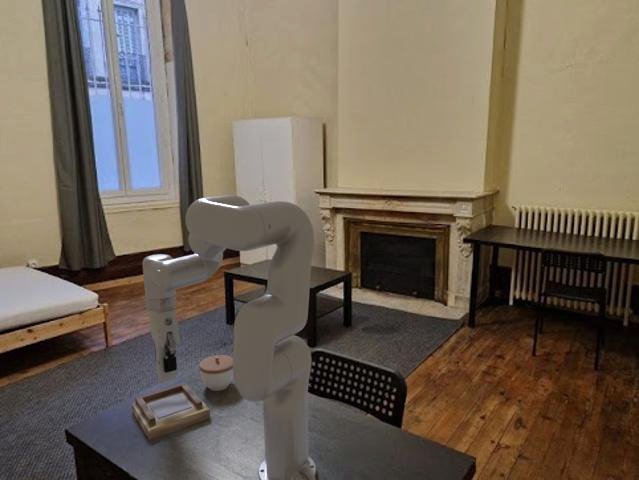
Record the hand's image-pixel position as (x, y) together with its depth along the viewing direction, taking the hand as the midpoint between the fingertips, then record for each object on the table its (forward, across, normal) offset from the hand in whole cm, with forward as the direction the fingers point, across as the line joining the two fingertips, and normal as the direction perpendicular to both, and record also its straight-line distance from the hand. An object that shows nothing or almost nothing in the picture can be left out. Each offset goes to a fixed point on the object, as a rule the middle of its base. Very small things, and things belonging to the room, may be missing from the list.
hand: (166, 365), depth 122 cm
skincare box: (+3, 0, 0) cm, 3 cm away
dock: (+14, -1, 0) cm, 14 cm away
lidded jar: (+15, +6, -17) cm, 23 cm away
